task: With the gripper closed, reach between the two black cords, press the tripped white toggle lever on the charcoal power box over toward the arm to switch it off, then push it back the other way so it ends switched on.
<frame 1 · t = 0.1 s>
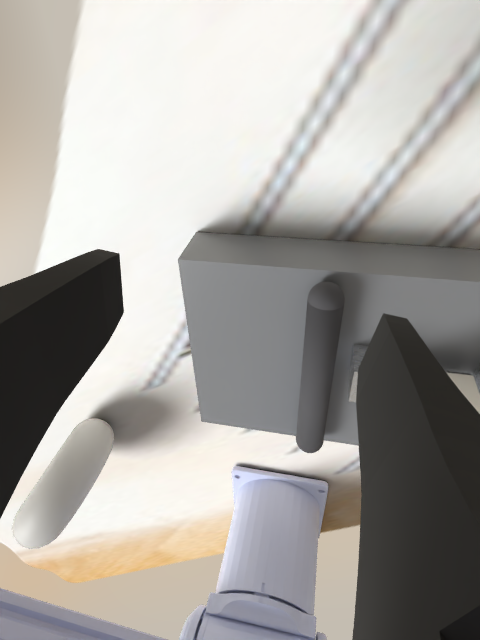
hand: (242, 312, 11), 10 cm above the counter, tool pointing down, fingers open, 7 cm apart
lever: (433, 422, 17), point 6 cm above the counter, hinge at 0.0°
donut: (98, 424, 35), on the counter
power box: (373, 338, 23), on the counter
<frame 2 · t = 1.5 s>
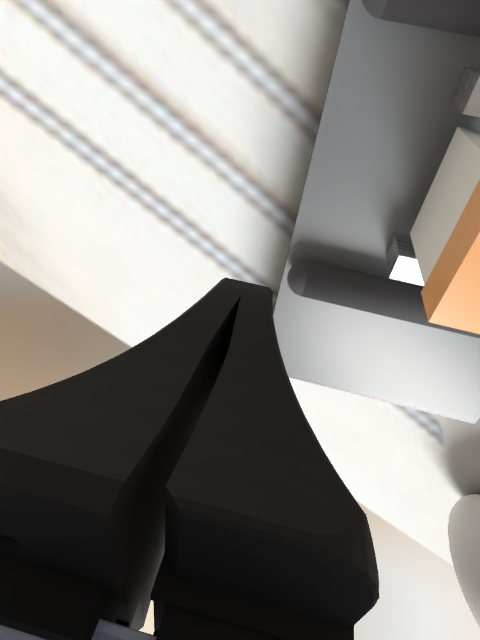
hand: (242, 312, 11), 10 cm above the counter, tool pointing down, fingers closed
lever: (468, 216, 12), point 6 cm above the counter, hinge at 0.0°
power box: (435, 205, 18), on the counter
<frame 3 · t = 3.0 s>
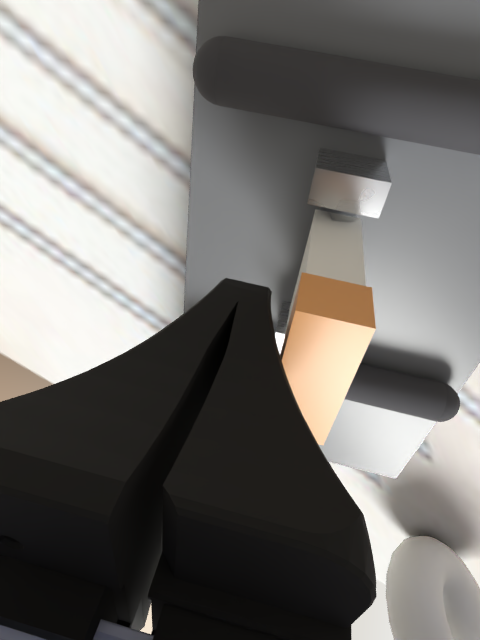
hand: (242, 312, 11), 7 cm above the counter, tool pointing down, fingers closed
lever: (318, 309, 11), point 6 cm above the counter, hinge at 0.0°, touching gripper
donut: (430, 539, 30), on the counter
power box: (337, 265, 18), on the counter
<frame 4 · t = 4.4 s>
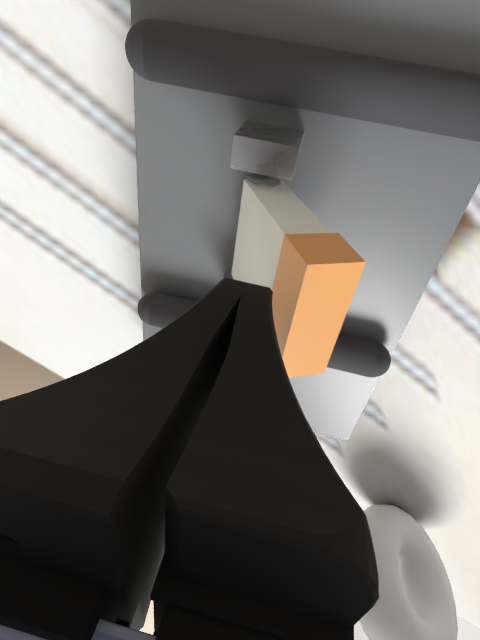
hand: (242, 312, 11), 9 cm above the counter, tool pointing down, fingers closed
lever: (278, 265, 13), point 6 cm above the counter, hinge at -28.2°
donut: (394, 509, 31), on the counter
power box: (283, 236, 19), on the counter
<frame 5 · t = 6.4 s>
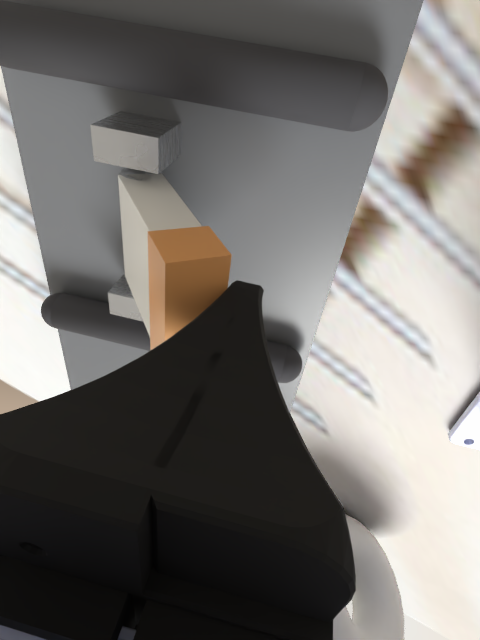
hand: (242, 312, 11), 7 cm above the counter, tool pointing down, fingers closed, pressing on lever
lever: (161, 264, 12), point 6 cm above the counter, hinge at -36.7°, touching gripper
donut: (347, 517, 31), on the counter
power box: (198, 235, 18), on the counter
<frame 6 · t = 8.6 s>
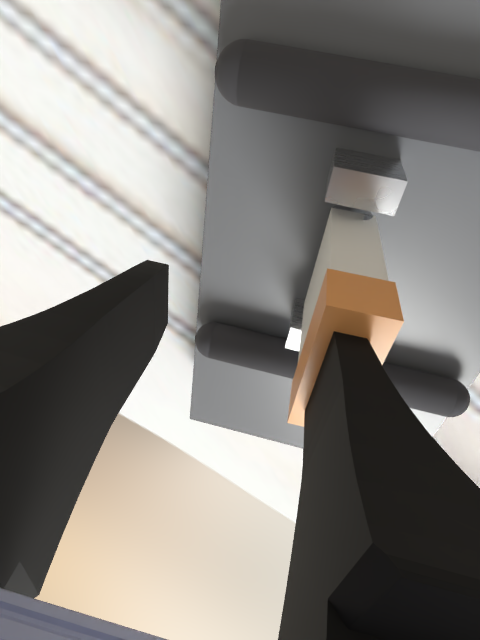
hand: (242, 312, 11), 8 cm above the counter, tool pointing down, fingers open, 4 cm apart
lever: (337, 304, 12), point 6 cm above the counter, hinge at -1.6°, touching gripper
power box: (348, 263, 18), on the counter
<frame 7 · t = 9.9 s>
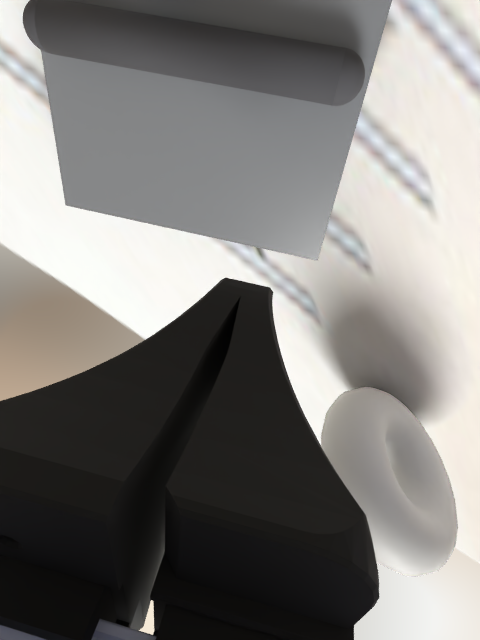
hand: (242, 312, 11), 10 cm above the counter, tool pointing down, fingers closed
donut: (383, 402, 27), on the counter
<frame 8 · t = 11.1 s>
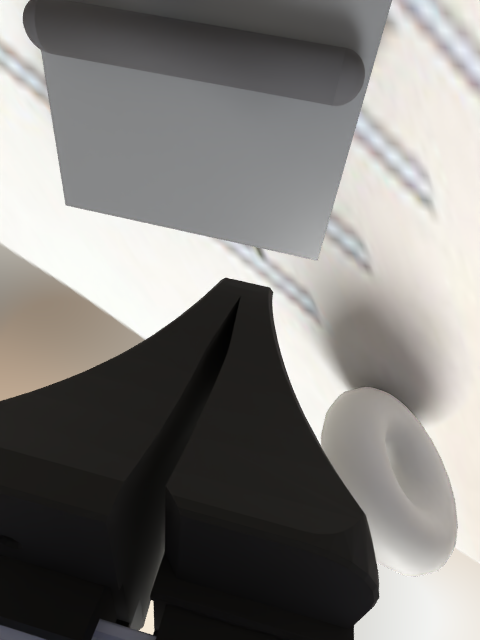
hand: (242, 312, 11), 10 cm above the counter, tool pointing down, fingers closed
donut: (383, 402, 27), on the counter
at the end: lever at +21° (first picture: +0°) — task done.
